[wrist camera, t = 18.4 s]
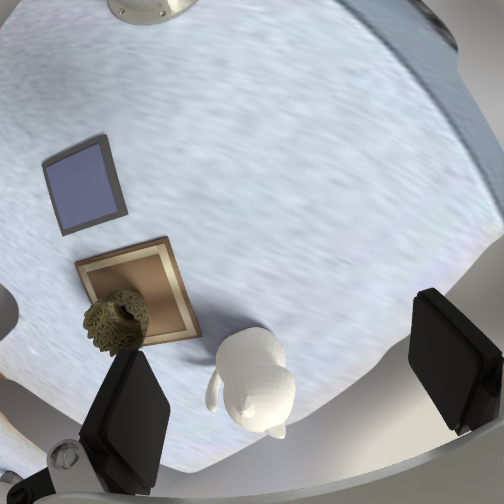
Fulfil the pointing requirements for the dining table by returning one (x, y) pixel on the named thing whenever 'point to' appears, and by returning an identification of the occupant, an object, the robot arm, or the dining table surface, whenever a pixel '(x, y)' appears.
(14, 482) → the decorative stone
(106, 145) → the ink pad
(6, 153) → the dining table surface
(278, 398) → the cat figurine
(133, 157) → the dining table surface
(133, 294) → the cup
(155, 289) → the marked board
